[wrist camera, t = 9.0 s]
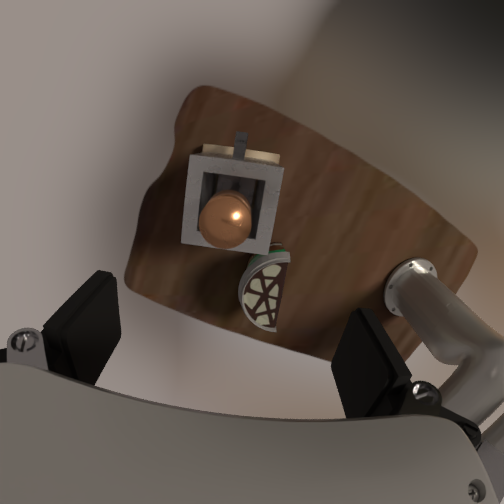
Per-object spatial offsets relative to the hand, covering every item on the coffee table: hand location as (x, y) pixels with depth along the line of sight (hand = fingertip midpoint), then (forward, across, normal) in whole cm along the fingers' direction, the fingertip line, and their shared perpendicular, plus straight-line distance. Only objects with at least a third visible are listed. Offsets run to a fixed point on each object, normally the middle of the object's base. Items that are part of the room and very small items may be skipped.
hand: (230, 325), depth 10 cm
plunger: (+32, +1, 0) cm, 32 cm away
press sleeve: (+32, +1, -2) cm, 32 cm away
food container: (+35, -4, +12) cm, 37 cm away
